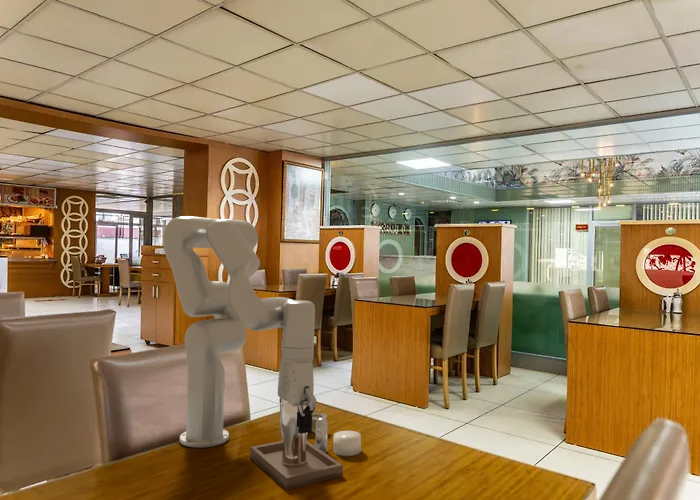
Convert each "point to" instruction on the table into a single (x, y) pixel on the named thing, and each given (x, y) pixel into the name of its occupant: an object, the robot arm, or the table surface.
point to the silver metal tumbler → (292, 436)
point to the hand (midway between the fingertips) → (295, 426)
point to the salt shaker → (321, 434)
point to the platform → (315, 418)
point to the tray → (293, 477)
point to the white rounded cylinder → (347, 443)
